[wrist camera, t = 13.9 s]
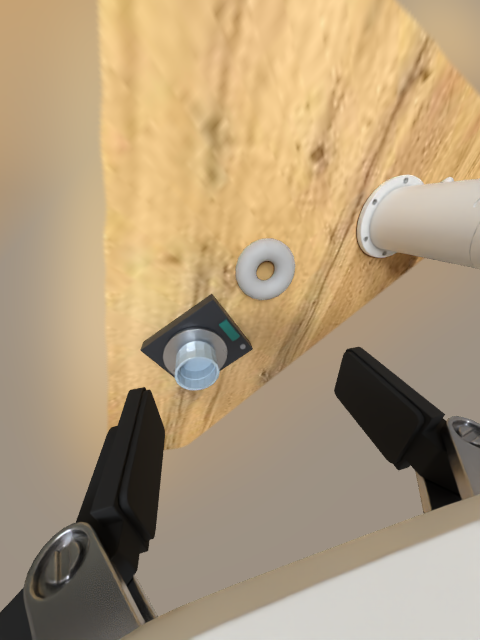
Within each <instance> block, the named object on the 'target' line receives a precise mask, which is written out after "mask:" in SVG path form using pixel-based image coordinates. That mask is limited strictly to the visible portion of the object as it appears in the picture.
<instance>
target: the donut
mask: <svg viewBox="0 0 480 640" xmlns="http://www.w3.org/2000/svg"><path fill="white" fill-rule="evenodd" d="M264 261H271V262H272V263H273V264H274V267H275V269H274V273H273V275H272V277H270V278H269V279H267V280H260V279H258V277H257V275H256V271H257V268H258V266H259V265H260V264H261V263H262V262H264ZM294 272H295V261H294V256H293V254H292V252H291V251H290V249H289V247H287V246H286V245H285V244H284V243H282V242H281V241H279V240H276V239H273V238H267V239H260V240H257V241H255V242H252V243H251V244H250V245H248V246H247V247H246V248H245V249H244V250H243V252H242V253H241V255H240V256H239V258H238V261H237V265H236V279H237V282H238V285H239V287H240V288H241V290H242V291H243V292H244V293H245V294H246V295H248V296H250V297H251V298H253V299H258V300H267V299H272V298H274V297H277V296H279V295H280V294H281V293H283V292H284V291H285V290H286V289H287V287H288V286H289V285H290V283H291V281H292V279H293V276H294Z"/></svg>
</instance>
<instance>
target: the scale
mask: <svg viewBox="0 0 480 640" xmlns="http://www.w3.org/2000/svg"><path fill="white" fill-rule="evenodd" d="M191 327H203V328H207V329H210V330H213V331H215V332H216V333H218V334H219V335H220V336H221V337H222V338H223V340H224V341H225V344H226V347H227V359H226V361H225V363H224V365H223V367H222V368H221V369H220V370H222V369H223V368H225V367H226V366H228V365H230V364H231V363H233V362H234V361H236V360H237V359H239V358H240V357H242V356H243V355H245V354H246V353H248V352H249V351H251V350H252V349H253V348H252V346H251V344H250V342H249V340H248V339H247V338H246V337H245V335H244V334H243V333H242V332H241V330H240V329H239V328H238V326H237V325H236V324H235V323H234V321H233V320H232V319H231V318H230V316H229V315H228V314H227V313H226V311H225V310H224V309H223V307H222V306H221V305H220V304H219V302H218V301H217V300H216V299H215V297H214V296H213V295H212V294H211V295H210V296H208V297H207V298H205V299H204V300H202V301H201V302H200V303H198V304H197V305H195V306H194V307H192V308H191V309H190V310H188V311H187V312H185V313H184V314H183V315H181V316H180V317H178V318H177V319H175V320H174V321H173V322H171V323H170V324H168V325H167V326H165V327H164V328H163V329H161V330H160V331H158V332H157V333H156V334H154V335H153V336H151V337H150V338H148V339H147V340H146V341H144V342H143V344H142V347H141V351H142V352H143V353H144V354H146V355H147V356H148V357H149V358H151V359H152V360H153V361H154V362H156V363H157V364H158V365H159V366H161V367H162V368H163V369H165V370H166V371H167V372H168V373H170V374H171V375H172V376H173V377H175V375H173V374H172V373H171V372H170V371H169V370H168V369H167V368H166V366H165V364H164V360H163V353H164V348H165V345H166V343H167V342H168V340H169V339H170V338H171V337H172V336H173V335H174V334H176V333H177V332H179V331H181V330H184V329H187V328H191ZM220 370H219V371H220Z"/></svg>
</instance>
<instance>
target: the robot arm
mask: <svg viewBox="0 0 480 640" xmlns="http://www.w3.org/2000/svg"><path fill="white" fill-rule="evenodd" d="M357 239H358V243H359V245H360V247H361V249H362V250H363V251H364V252H365V253H366V254H367V255H370V256H373V257H377V258H384V257H388V256H391V255H393V254H395V253H397V252H399V253H404V254H409V255H414V256H419V257H424V258H429V259H433V260H438V261H443V262H448V263H453V264H458V265H463V266H468V267H472V268H477V269H480V179H471V180H462V181H454V180H453V178H451V177H448V178H446V179H444V180H443V181H441V182H440V183H433V184H424V183H423V182H422V181H421V180H420V179H419V178H417V177H416V176H413V175H401V176H396V177H393V178H391V179H388V180H387V181H385V182H384V183H382V184H381V185H380V186H379V187H378V188H377V189H376V190H374V192H373V193H372V194H371V195H370V197H369V198H368V200H367V201H366V203H365V205H364V207H363V209H362V211H361V213H360V217H359V220H358V225H357ZM334 391H335V394H336V396H337V398H338V399H339V400H340V401H341V403H342V404H343V405H344V407H345V408H346V409H347V410H348V411H349V413H350V414H351V415H352V417H353V418H354V419H355V420H356V422H357V423H358V424H359V425H360V427H361V428H362V429H363V430H364V432H365V433H366V434H367V436H368V437H369V438H370V439H371V440H372V442H373V443H374V444H375V446H376V447H377V448H378V449H379V451H380V452H381V453H382V454H383V456H384V457H385V458H386V459H387V460H388V461H389V462H390V463H393V464H394V466H395V467H396V468H397V469H398V470H401V469H404V468H407V467H409V466H410V465H411V466H412V467H413V468H414V469H415V471H416V476H417V481H418V487H419V491H420V497H421V502H422V507H423V512H424V514H422V515H419V516H416V517H414V518H411V519H408V520H405V521H403V522H400V523H397V524H394V525H392V526H389V527H386V528H384V529H381V530H378V531H376V532H373V533H370V534H368V535H365V536H362V537H360V538H357V539H354V540H351V541H349V542H346V543H344V544H341V545H338V546H335V547H333V548H330V549H328V550H325V551H322V552H320V553H317V554H314V555H312V556H309V557H306V558H304V559H301V560H298V561H296V562H293V563H291V564H288V565H285V566H283V567H280V568H277V569H275V570H272V571H269V572H267V573H264V574H261V575H259V576H256V577H254V578H251V579H248V580H246V581H243V582H241V583H238V584H235V585H233V586H230V587H228V588H225V589H223V590H220V591H218V592H215V593H213V594H210V595H208V596H205V597H203V598H200V599H198V600H196V601H193V602H191V603H188V604H186V605H183V606H181V607H179V608H176V609H174V610H172V611H170V612H168V613H166V614H163V615H161V616H159V617H158V616H157V614H156V612H155V610H154V608H153V607H152V605H151V603H150V601H149V599H148V597H147V596H146V594H145V592H144V590H143V588H142V586H141V585H140V583H139V581H138V579H137V578H136V576H135V573H136V571H137V568H138V560H139V554H140V553H143V552H146V551H148V547H149V540H150V539H153V538H154V536H155V530H156V520H157V510H158V500H159V490H160V480H161V469H162V460H163V450H164V440H165V430H164V426H163V423H162V420H161V418H160V415H159V412H158V409H157V406H156V404H155V401H154V398H153V395H152V392H151V390H146V388H145V387H143V388H138V389H133V390H130V391H129V393H128V395H127V398H126V402H125V405H124V408H123V411H122V414H121V417H120V420H119V423H118V426H115V427H112V428H111V429H110V430H109V432H108V434H107V436H106V439H105V442H104V445H103V448H102V450H101V453H100V456H99V459H98V461H97V464H96V467H95V470H94V473H93V476H92V478H91V481H90V484H89V487H88V490H87V492H86V495H85V498H84V501H83V504H82V507H81V510H80V512H79V515H78V518H77V521H76V523H73V524H71V525H69V526H67V527H66V528H63V529H62V530H61V531H59V532H58V533H57V534H55V535H54V536H53V537H52V538H51V539H50V540H49V541H48V542H47V543H46V545H45V546H44V547H43V548H42V549H41V551H40V552H39V554H38V555H37V557H36V558H35V560H34V561H33V563H32V566H31V567H30V569H29V571H28V573H27V577H26V580H25V584H24V588H23V589H22V590H21V591H20V592H19V593H18V594H17V595H16V596H15V598H14V599H13V600H12V601H11V602H10V603H9V604H8V605H7V606H6V607H5V608H4V609H3V610H2V611H1V612H0V640H480V424H479V423H477V422H475V421H473V420H470V419H467V418H464V417H459V416H452V417H450V418H448V419H447V421H445V420H444V419H443V417H444V415H445V414H444V413H443V412H441V411H440V410H439V409H438V408H436V407H435V406H434V405H433V404H431V403H430V402H429V401H427V400H426V399H425V398H424V397H422V396H421V395H420V394H419V393H417V392H416V391H415V390H414V389H412V388H411V387H410V386H409V385H407V384H406V383H405V382H404V381H402V380H401V379H400V378H399V377H397V376H396V375H395V374H394V373H392V372H391V371H390V370H389V369H387V368H386V367H385V366H384V365H382V364H381V363H380V362H379V361H377V360H376V359H375V358H374V357H372V356H371V355H370V354H369V353H367V352H366V351H365V350H363V349H362V348H361V347H355V348H350V349H347V350H346V352H345V353H344V355H343V358H342V362H341V366H340V370H339V374H338V378H337V382H336V385H335V390H334Z"/></svg>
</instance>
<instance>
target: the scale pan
mask: <svg viewBox="0 0 480 640" xmlns="http://www.w3.org/2000/svg"><path fill="white" fill-rule="evenodd" d="M194 341H201V342H205V343H207V344H209V345H210V346H211V347H212V348H213V349H214V350H215V352H216V356H217V361H218V366H219V370H220V369H221V368H222V367H223V365H224V363H225V361H226V359H227V347H226V344H225V341H224V340H223V338H222V337H221V336H220V335H219V334H218V333H216V332H215V331H213V330H210V329H207V328H203V327H191V328H187V329H184V330H181V331H179V332H177V333H176V334H174V335H173V336H172V337H171V338H170V339H169V340H168V342H167V343H166V345H165V348H164V353H163V360H164V364H165V366H166V368H167V369H168V370H169V371H170V372H171V373H172V374H173V375H175V364H176V355H177V353H178V351H179V350H180V349H181V348H182V347H183V346H184V345H185V344H187V343H190V342H194Z"/></svg>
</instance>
